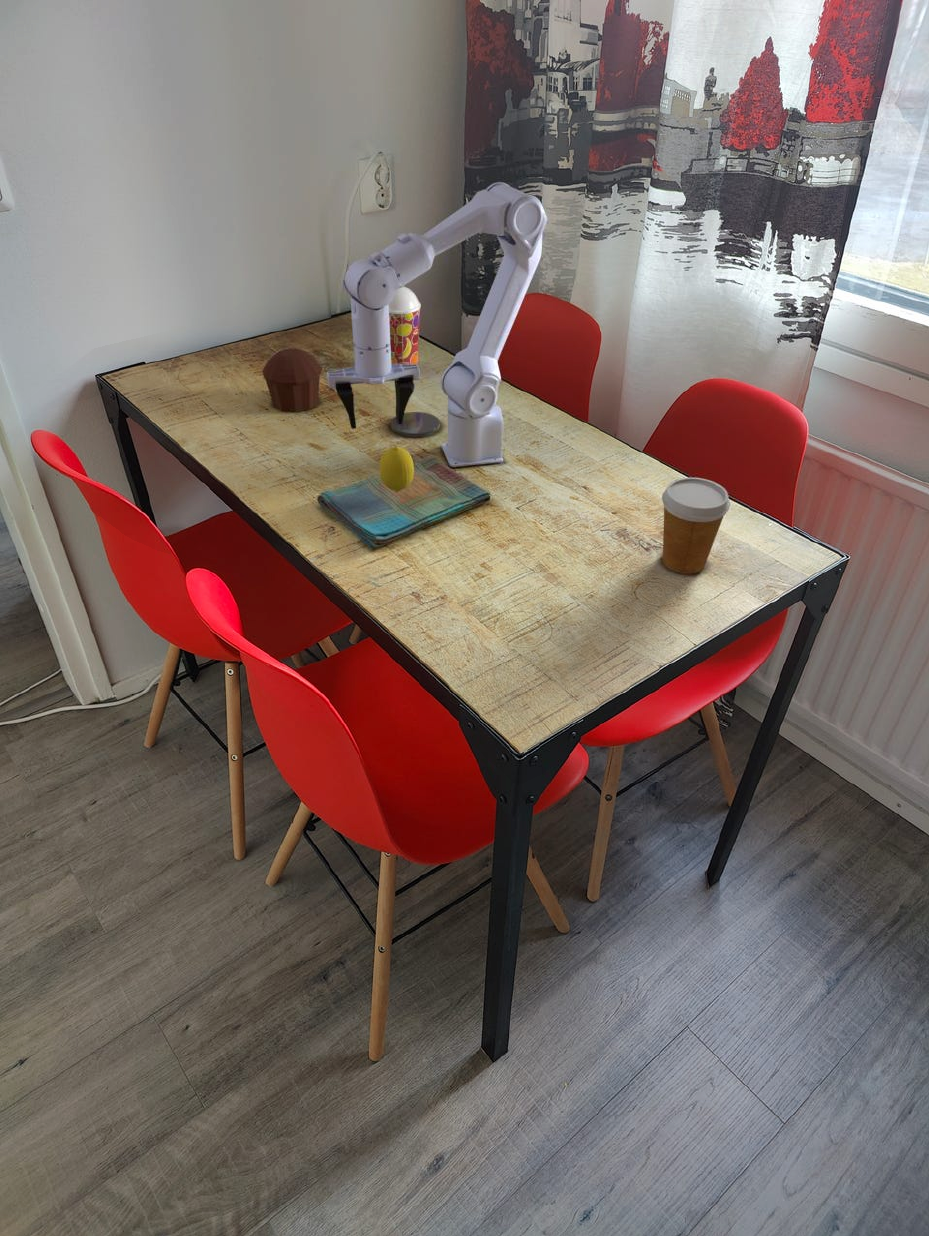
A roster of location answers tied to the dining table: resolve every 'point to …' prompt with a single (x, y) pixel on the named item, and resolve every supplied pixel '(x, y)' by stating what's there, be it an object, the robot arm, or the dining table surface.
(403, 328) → the smoothie
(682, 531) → the disposable coffee cup
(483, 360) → the robot arm
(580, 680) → the dining table surface
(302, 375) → the muffin
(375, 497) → the dish towel
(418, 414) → the slate coaster
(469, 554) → the dining table surface
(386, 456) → the lemon
